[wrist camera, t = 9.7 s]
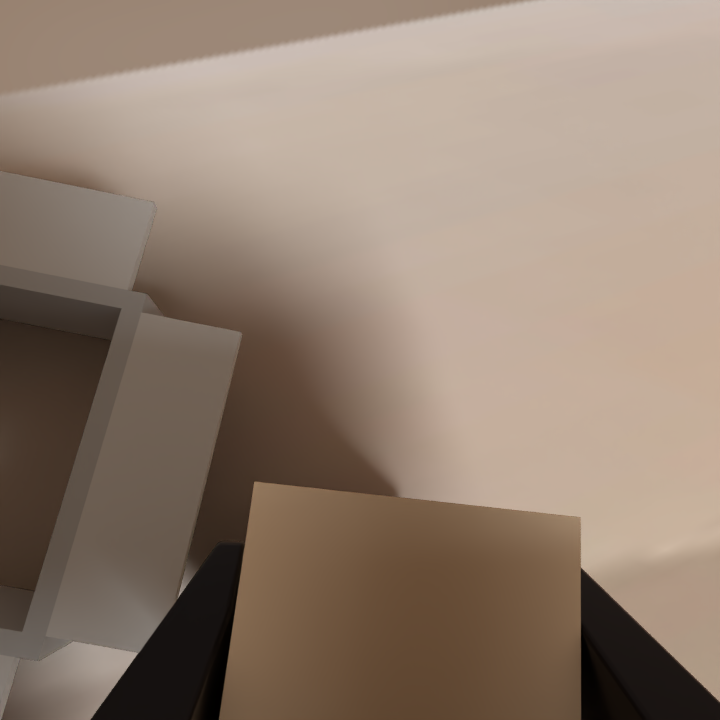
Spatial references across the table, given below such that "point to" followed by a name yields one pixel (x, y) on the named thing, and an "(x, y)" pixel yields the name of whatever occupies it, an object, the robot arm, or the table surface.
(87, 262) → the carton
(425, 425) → the table surface
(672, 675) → the robot arm
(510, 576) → the box
